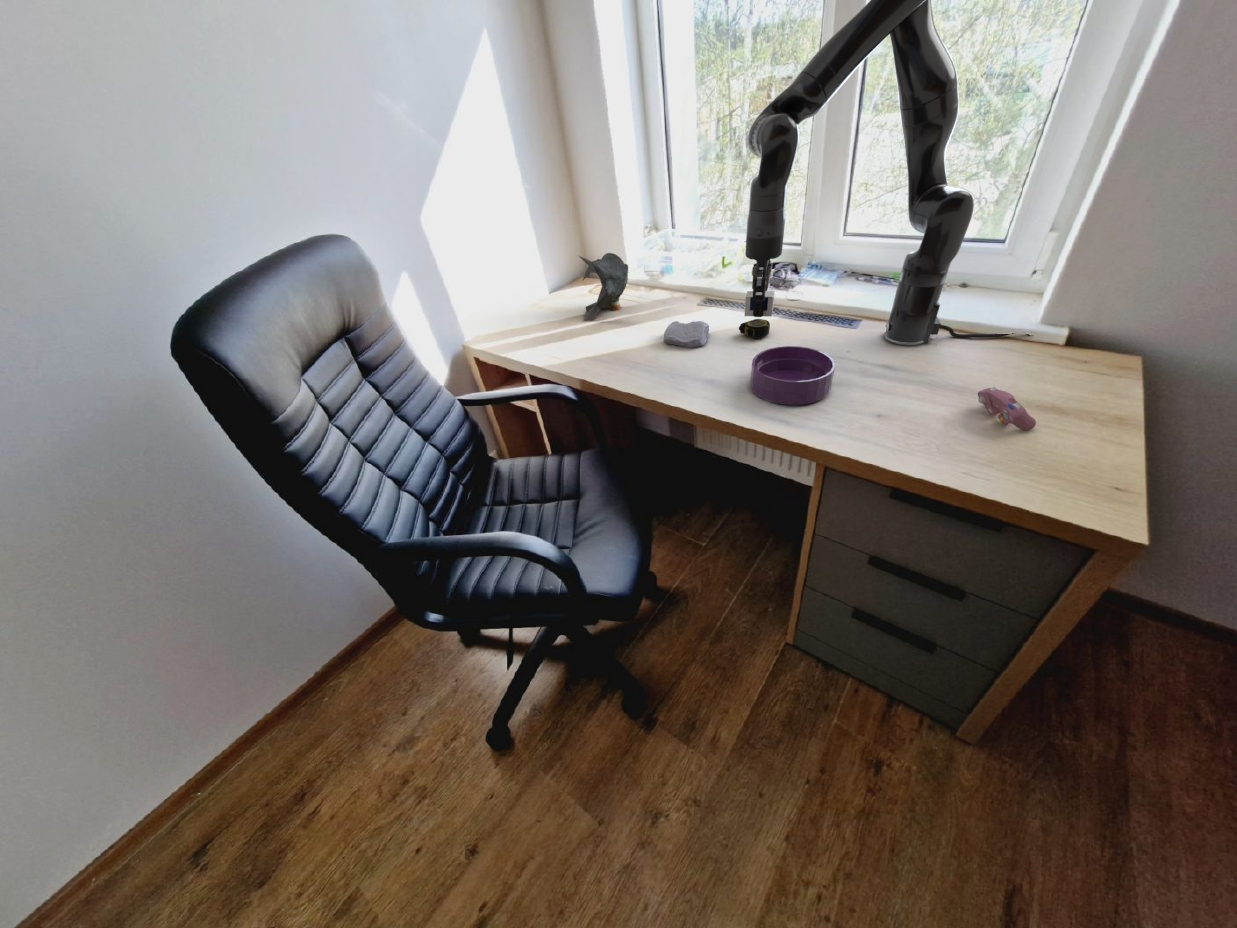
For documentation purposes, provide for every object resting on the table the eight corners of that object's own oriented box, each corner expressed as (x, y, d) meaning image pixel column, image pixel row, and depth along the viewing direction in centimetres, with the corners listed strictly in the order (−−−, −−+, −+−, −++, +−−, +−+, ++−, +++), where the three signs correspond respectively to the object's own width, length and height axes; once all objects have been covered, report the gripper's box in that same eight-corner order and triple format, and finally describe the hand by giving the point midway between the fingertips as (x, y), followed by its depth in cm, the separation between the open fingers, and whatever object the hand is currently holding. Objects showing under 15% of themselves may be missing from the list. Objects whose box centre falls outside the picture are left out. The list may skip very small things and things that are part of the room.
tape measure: (758, 328, 132) (759, 315, 129) (774, 336, 127) (775, 323, 124) (738, 334, 130) (738, 321, 128) (753, 342, 125) (754, 329, 123)
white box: (772, 310, 108) (774, 291, 105) (771, 316, 105) (773, 296, 103) (746, 310, 110) (747, 291, 107) (744, 316, 107) (745, 296, 105)
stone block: (703, 354, 126) (710, 332, 132) (702, 339, 123) (709, 317, 129) (661, 353, 131) (670, 332, 136) (659, 338, 127) (668, 317, 133)
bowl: (828, 371, 109) (833, 347, 105) (831, 409, 97) (836, 384, 93) (753, 368, 114) (755, 345, 110) (747, 404, 102) (749, 379, 98)
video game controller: (975, 412, 93) (970, 387, 89) (999, 401, 92) (996, 374, 88) (1012, 441, 85) (1009, 414, 82) (1039, 428, 84) (1037, 401, 80)
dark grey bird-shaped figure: (631, 316, 149) (626, 257, 138) (584, 321, 150) (575, 262, 139) (631, 301, 160) (626, 245, 149) (587, 305, 161) (579, 250, 150)
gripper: (782, 240, 91) (773, 325, 101) (785, 223, 101) (777, 301, 112) (742, 241, 93) (738, 324, 104) (750, 224, 103) (745, 301, 114)
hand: (758, 312), depth 108 cm, fingers closed on white box, 3 cm apart
